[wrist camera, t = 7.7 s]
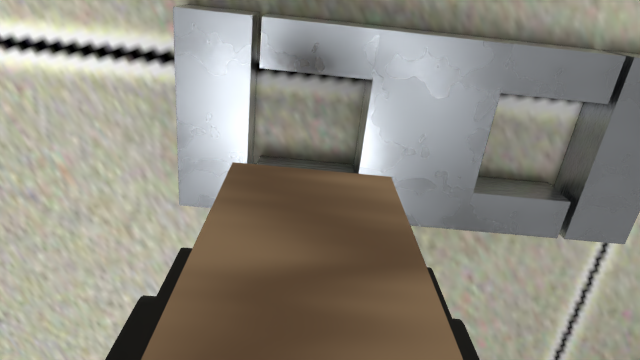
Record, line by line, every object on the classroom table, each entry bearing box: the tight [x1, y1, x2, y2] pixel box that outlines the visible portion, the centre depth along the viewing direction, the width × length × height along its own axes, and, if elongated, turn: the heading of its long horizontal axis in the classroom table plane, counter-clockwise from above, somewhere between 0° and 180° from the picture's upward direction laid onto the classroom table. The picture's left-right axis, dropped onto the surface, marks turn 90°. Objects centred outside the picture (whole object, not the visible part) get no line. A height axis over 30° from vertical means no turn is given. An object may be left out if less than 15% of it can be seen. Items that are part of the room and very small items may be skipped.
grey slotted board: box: [173, 5, 640, 244], centre depth 28 cm, size 30×12×3 cm, turn 84°
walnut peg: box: [141, 162, 463, 360], centre depth 10 cm, size 5×5×10 cm
